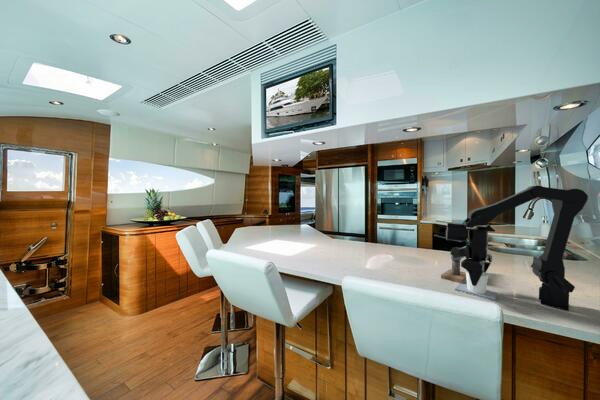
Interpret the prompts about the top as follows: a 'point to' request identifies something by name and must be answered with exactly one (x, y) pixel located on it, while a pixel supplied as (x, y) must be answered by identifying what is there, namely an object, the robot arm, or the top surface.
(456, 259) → the bar
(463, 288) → the slate mat
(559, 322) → the top surface
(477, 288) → the white tapered cup
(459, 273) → the stand
